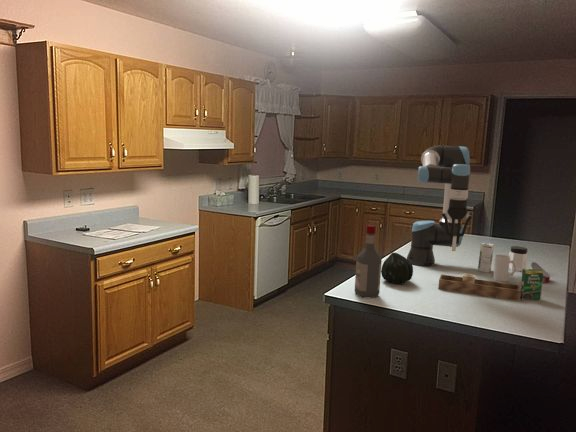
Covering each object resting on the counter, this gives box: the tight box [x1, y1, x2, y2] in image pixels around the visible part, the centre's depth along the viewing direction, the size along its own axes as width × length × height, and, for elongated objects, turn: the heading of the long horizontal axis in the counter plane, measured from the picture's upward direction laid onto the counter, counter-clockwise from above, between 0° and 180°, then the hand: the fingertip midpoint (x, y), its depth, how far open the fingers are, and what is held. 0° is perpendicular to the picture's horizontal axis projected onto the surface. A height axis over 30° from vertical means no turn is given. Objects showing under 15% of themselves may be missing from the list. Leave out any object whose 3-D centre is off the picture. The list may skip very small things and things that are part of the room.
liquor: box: [354, 224, 382, 298], centre depth 204 cm, size 9×9×30 cm
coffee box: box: [520, 268, 543, 301], centre depth 208 cm, size 8×3×13 cm, turn 90°
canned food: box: [530, 261, 551, 284], centre depth 240 cm, size 11×10×10 cm
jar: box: [508, 245, 529, 272], centre depth 259 cm, size 9×8×12 cm
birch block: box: [462, 272, 476, 284], centre depth 217 cm, size 5×5×4 cm
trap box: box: [437, 273, 521, 302], centre depth 216 cm, size 34×10×4 cm, turn 67°
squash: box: [381, 252, 414, 285], centre depth 227 cm, size 14×15×15 cm
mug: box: [493, 254, 517, 282], centre depth 236 cm, size 10×7×12 cm, turn 55°
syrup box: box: [477, 242, 495, 273], centre depth 253 cm, size 6×6×14 cm
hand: (453, 250), depth 218 cm, fingers closed
